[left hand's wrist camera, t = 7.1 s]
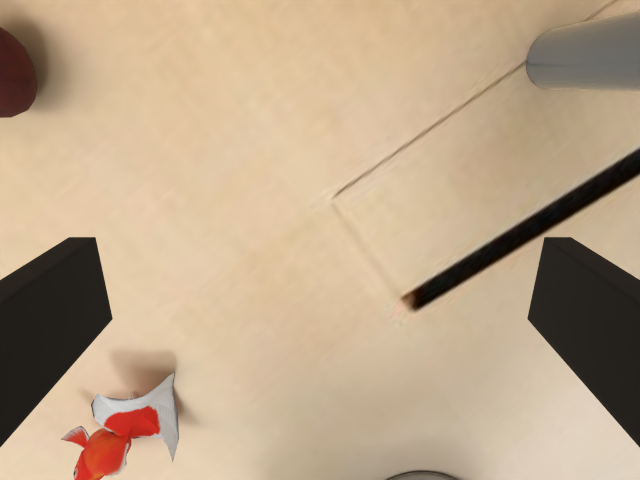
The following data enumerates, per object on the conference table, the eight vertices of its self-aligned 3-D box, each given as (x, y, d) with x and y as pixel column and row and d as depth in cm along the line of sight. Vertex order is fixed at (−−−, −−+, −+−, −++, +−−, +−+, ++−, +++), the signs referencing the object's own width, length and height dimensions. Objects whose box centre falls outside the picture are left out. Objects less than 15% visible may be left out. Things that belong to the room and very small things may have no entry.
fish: (18, 422, 44) (15, 502, 37) (143, 327, 48) (163, 383, 40) (90, 459, 51) (100, 534, 43) (195, 373, 54) (221, 428, 47)
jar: (524, 35, 35) (696, -4, 19) (583, 21, 35) (809, -30, 19) (526, 95, 37) (685, 105, 21) (583, 82, 36) (788, 83, 20)
